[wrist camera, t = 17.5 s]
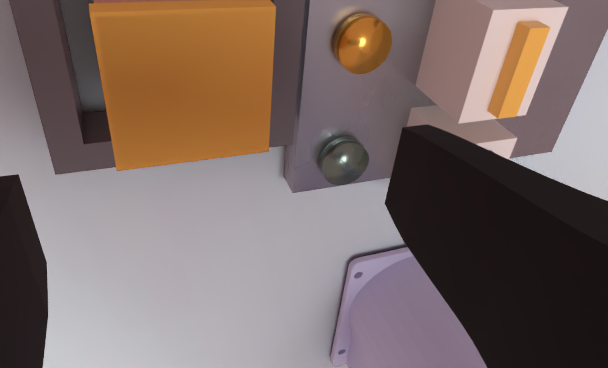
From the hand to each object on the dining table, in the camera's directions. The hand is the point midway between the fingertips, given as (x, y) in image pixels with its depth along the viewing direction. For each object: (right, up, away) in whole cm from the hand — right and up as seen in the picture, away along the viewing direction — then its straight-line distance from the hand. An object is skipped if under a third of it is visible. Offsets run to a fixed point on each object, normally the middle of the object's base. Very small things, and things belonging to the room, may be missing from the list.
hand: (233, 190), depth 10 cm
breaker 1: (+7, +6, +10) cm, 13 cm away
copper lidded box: (-3, +5, +7) cm, 9 cm away
